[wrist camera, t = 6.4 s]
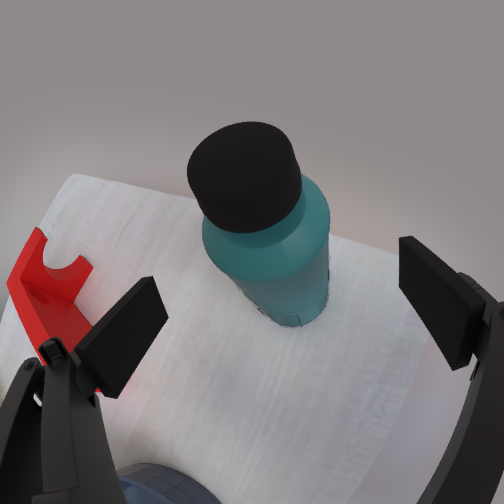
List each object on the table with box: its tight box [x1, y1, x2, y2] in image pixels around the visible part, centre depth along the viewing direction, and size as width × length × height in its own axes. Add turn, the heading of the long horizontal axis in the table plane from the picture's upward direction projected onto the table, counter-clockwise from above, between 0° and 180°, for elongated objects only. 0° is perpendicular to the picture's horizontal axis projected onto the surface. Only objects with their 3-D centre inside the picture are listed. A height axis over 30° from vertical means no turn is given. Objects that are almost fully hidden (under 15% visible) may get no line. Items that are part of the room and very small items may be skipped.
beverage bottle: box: [187, 122, 331, 328], centre depth 18 cm, size 6×7×20 cm
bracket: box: [6, 227, 101, 392], centre depth 27 cm, size 18×10×10 cm
